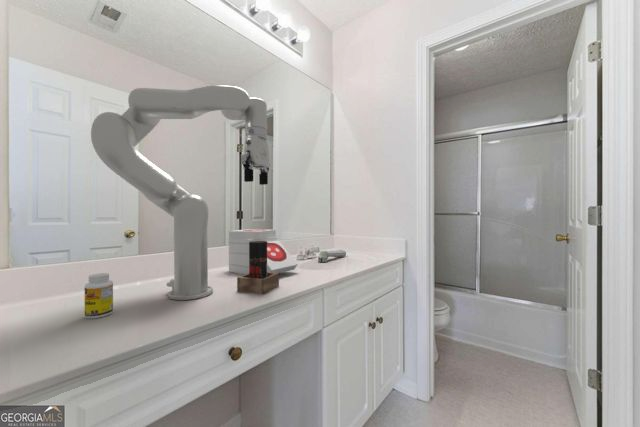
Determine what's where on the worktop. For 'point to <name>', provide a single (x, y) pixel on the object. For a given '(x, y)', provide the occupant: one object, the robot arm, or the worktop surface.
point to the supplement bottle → (98, 296)
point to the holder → (257, 283)
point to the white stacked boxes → (276, 251)
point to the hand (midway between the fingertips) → (256, 183)
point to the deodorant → (258, 259)
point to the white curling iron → (330, 255)
